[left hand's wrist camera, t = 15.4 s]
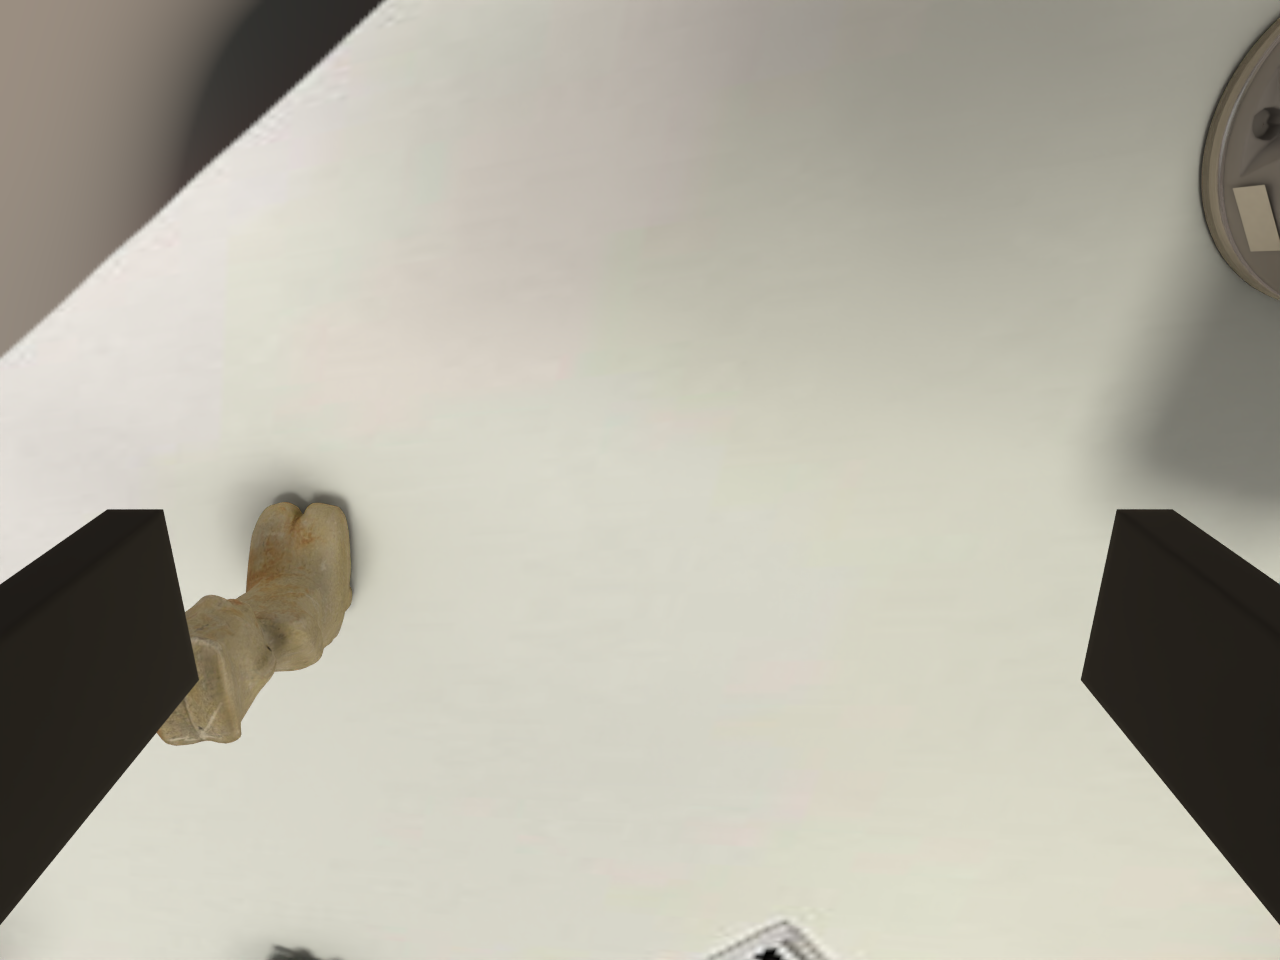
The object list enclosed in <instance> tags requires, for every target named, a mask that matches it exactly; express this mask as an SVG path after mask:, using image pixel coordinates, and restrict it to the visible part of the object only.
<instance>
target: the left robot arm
mask: <svg viewBox="0 0 1280 960" xmlns="http://www.w3.org/2000/svg"><path fill="white" fill-rule="evenodd" d="M1201 189H1202V200H1203V207H1204V212H1205V217H1206V221H1207V224H1208V227H1209V231H1210V234H1211V236H1212V238H1213V240H1214V242H1215V245H1216V247H1217V248H1218V250H1219V252H1220V253H1221V255H1222V257H1223V258H1224V260H1225V261H1226V262H1227V263H1228V265H1229V266H1230V267H1231V268H1232V270H1233V271H1234V272H1235V273H1236V274H1238V275H1239V276H1240V277H1241V278H1242V279H1243V280H1244V281H1245V282H1247V283H1248V284H1249V285H1251V286H1252V287H1254V288H1255V289H1257V290H1259V291H1260V292H1262V293H1264V294H1266V295H1268V296H1270V297H1273V298H1275V299H1278V300H1280V18H1279V19H1278V20H1277V21H1276V22H1274V23H1273V24H1272V25H1271V27H1270V28H1269V29H1268V30H1267V31H1266V32H1265V33H1264V34H1263V35H1262V36H1261V37H1260V38H1259V40H1258V41H1257V42H1256V43H1255V45H1254V46H1253V47H1252V48H1251V50H1250V51H1249V52H1248V53H1247V55H1246V56H1245V58H1244V59H1243V61H1242V62H1241V63H1240V65H1239V66H1238V68H1237V69H1236V71H1235V73H1234V74H1233V76H1232V78H1231V80H1230V81H1229V83H1228V85H1227V87H1226V89H1225V91H1224V93H1223V95H1222V97H1221V99H1220V101H1219V103H1218V106H1217V108H1216V111H1215V114H1214V116H1213V119H1212V122H1211V125H1210V129H1209V132H1208V136H1207V139H1206V144H1205V149H1204V155H1203V163H1202V180H1201ZM198 681H199V677H198V672H197V667H196V663H195V658H194V653H193V648H192V644H191V639H190V634H189V630H188V625H187V620H186V615H185V611H184V606H183V601H182V596H181V592H180V587H179V582H178V578H177V573H176V568H175V563H174V559H173V554H172V549H171V544H170V540H169V535H168V530H167V526H166V521H165V516H164V511H163V509H107V510H106V511H105V512H103V513H102V514H100V515H99V516H97V517H96V518H95V519H93V520H92V521H90V522H89V523H87V524H86V525H85V526H83V527H82V528H80V529H79V530H77V531H76V532H75V533H73V534H72V535H70V536H69V537H67V538H66V539H65V540H63V541H62V542H60V543H59V544H57V545H56V546H55V547H53V548H52V549H50V550H49V551H47V552H46V553H45V554H43V555H42V556H40V557H39V558H37V559H36V560H35V561H33V562H32V563H30V564H29V565H27V566H26V567H25V568H23V569H22V570H20V571H19V572H17V573H16V574H15V575H13V576H12V577H10V578H9V579H7V580H6V581H5V582H3V583H2V584H0V925H1V923H2V922H3V921H4V920H5V918H6V917H7V916H8V915H9V914H10V912H11V911H12V910H13V909H14V907H15V906H16V905H17V904H18V902H19V901H20V900H21V899H22V898H23V896H24V895H25V894H26V893H27V891H28V890H29V889H30V888H31V886H32V885H33V884H34V883H35V882H36V880H37V879H38V878H39V877H40V875H41V874H42V873H43V872H44V870H45V869H46V868H47V867H48V866H49V864H50V863H51V862H52V861H53V859H54V858H55V857H56V856H57V854H58V853H59V852H60V851H61V850H62V848H63V847H64V846H65V845H66V843H67V842H68V841H69V840H70V838H71V837H72V836H73V835H74V833H75V832H76V831H77V830H78V829H79V827H80V826H81V825H82V824H83V822H84V821H85V820H86V819H87V817H88V816H89V815H90V814H91V813H92V811H93V810H94V809H95V808H96V806H97V805H98V804H99V803H100V801H101V800H102V799H103V798H104V797H105V795H106V794H107V793H108V792H109V790H110V789H111V788H112V787H113V785H114V784H115V783H116V782H117V781H118V779H119V778H120V777H121V776H122V774H123V773H124V772H125V771H126V769H127V768H128V767H129V766H130V765H131V763H132V762H133V761H134V760H135V758H136V757H137V756H138V755H139V753H140V752H141V751H142V750H143V749H144V747H145V746H146V745H147V744H148V742H149V741H150V740H151V739H152V737H153V736H154V735H155V734H156V733H157V731H158V730H159V729H160V728H161V726H162V725H163V724H164V723H165V721H166V720H167V719H168V718H169V716H170V715H171V714H172V713H173V712H174V710H175V709H176V708H177V707H178V705H179V704H180V703H181V702H182V700H183V699H184V698H185V697H186V696H187V694H188V693H189V692H190V691H191V689H192V688H193V687H194V686H195V684H196V683H197V682H198ZM1081 681H1082V682H1083V683H1084V684H1085V686H1086V687H1087V688H1088V689H1089V691H1090V692H1091V693H1092V694H1093V696H1094V697H1095V698H1096V699H1097V700H1098V702H1099V703H1100V704H1101V705H1102V707H1103V708H1104V709H1105V710H1106V712H1107V713H1108V714H1109V715H1110V717H1111V718H1112V719H1113V720H1114V721H1115V723H1116V724H1117V725H1118V726H1119V728H1120V729H1121V730H1122V731H1123V733H1124V734H1125V735H1126V736H1127V737H1128V739H1129V740H1130V741H1131V742H1132V744H1133V745H1134V746H1135V747H1136V749H1137V750H1138V751H1139V752H1140V753H1141V755H1142V756H1143V757H1144V758H1145V760H1146V761H1147V762H1148V763H1149V765H1150V766H1151V767H1152V768H1153V769H1154V771H1155V772H1156V773H1157V774H1158V776H1159V777H1160V778H1161V779H1162V781H1163V782H1164V783H1165V784H1166V785H1167V787H1168V788H1169V789H1170V790H1171V792H1172V793H1173V794H1174V795H1175V797H1176V798H1177V799H1178V800H1179V801H1180V803H1181V804H1182V805H1183V806H1184V808H1185V809H1186V810H1187V811H1188V813H1189V814H1190V815H1191V816H1192V817H1193V819H1194V820H1195V821H1196V822H1197V824H1198V825H1199V826H1200V827H1201V829H1202V830H1203V831H1204V832H1205V833H1206V835H1207V836H1208V837H1209V838H1210V840H1211V841H1212V842H1213V843H1214V845H1215V846H1216V847H1217V848H1218V850H1219V851H1220V852H1221V853H1222V854H1223V856H1224V857H1225V858H1226V859H1227V861H1228V862H1229V863H1230V864H1231V866H1232V867H1233V868H1234V869H1235V870H1236V872H1237V873H1238V874H1239V875H1240V877H1241V878H1242V879H1243V880H1244V882H1245V883H1246V884H1247V885H1248V886H1249V888H1250V889H1251V890H1252V891H1253V893H1254V894H1255V895H1256V896H1257V898H1258V899H1259V900H1260V901H1261V902H1262V904H1263V905H1264V906H1265V907H1266V909H1267V910H1268V911H1269V912H1270V914H1271V915H1272V916H1273V917H1274V918H1275V920H1276V921H1277V922H1278V923H1279V925H1280V582H1279V584H1278V583H1277V582H1275V581H1274V580H1273V579H1271V578H1270V577H1268V576H1267V575H1265V574H1264V573H1263V572H1261V571H1260V570H1258V569H1257V568H1255V567H1254V566H1253V565H1251V564H1250V563H1248V562H1247V561H1245V560H1244V559H1243V558H1241V557H1240V556H1238V555H1237V554H1235V553H1234V552H1233V551H1231V550H1230V549H1228V548H1227V547H1225V546H1224V545H1223V544H1221V543H1220V542H1218V541H1217V540H1215V539H1214V538H1213V537H1211V536H1210V535H1208V534H1207V533H1205V532H1204V531H1203V530H1201V529H1200V528H1198V527H1197V526H1195V525H1194V524H1193V523H1191V522H1190V521H1188V520H1187V519H1185V518H1184V517H1183V516H1181V515H1180V514H1178V513H1177V512H1175V511H1174V510H1173V509H1117V511H1116V516H1115V521H1114V526H1113V530H1112V535H1111V540H1110V544H1109V549H1108V554H1107V559H1106V563H1105V568H1104V573H1103V578H1102V582H1101V587H1100V592H1099V596H1098V601H1097V606H1096V611H1095V615H1094V620H1093V625H1092V629H1091V634H1090V639H1089V644H1088V648H1087V653H1086V658H1085V663H1084V667H1083V672H1082V677H1081Z"/></svg>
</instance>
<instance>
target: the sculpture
mask: <svg viewBox="0 0 1280 960" xmlns="http://www.w3.org/2000/svg"><path fill="white" fill-rule="evenodd" d="M350 575H351V558H350V542H349V531H348V525H347V520H346V517H345V515H344V513H343V512H342V510H341V509H340V508H339V507H337V506H333V505H328V504H323V503H312V504H311V505H309V506H308V507H307V508H306V510H305V512H304V514H302V512H301V511H300V509H299V508H298V507H297V506H295V505H293V504H291V503H288V502H281V503H278V504H274V505H271V506H269V507H267V508H266V509H265V510H264V511H263V513H262V514H261V515H260V517H259V519H258V521H257V523H256V526H255V529H254V531H253V534H252V539H251V546H250V554H249V562H248V572H247V585H246V593H245V594H243V595H241V596H240V597H238V598H237V599H228V600H227V599H225V598H222V597H219V596H215V595H207V596H205V597H203V598H201V599H200V600H199V601H198V602H197V603H196V604H195V605H194V606H193V607H192V608H190V609H189V610H188V611H186V612H185V615H186V620H187V625H188V630H189V634H190V639H191V644H192V648H193V653H194V658H195V663H196V667H197V672H198V677H199V681H198V682H197V683H196V684H195V686H194V687H193V688H192V689H191V691H190V692H189V693H188V694H187V696H186V697H185V698H184V699H183V700H182V702H181V703H180V704H179V705H178V707H177V708H176V709H175V710H174V712H173V713H172V714H171V715H170V716H169V718H168V719H167V720H166V721H165V723H164V724H163V725H162V726H161V728H160V729H159V730H158V731H157V734H158V735H159V736H160V737H161V739H162V740H163V741H164V742H165V743H167V744H171V745H176V746H177V745H188V744H194V743H198V742H201V741H214V742H218V743H230V742H234V741H236V740H237V739H239V738H240V736H241V721H242V719H243V717H244V716H245V714H246V712H247V711H248V709H249V707H250V706H251V704H252V702H253V701H254V699H255V697H256V696H257V694H258V693H259V691H260V690H261V689H262V688H263V687H264V685H265V684H266V683H267V682H268V681H269V680H270V678H271V677H272V675H273V674H274V672H277V671H294V670H299V669H303V668H306V667H308V666H310V665H312V664H314V663H316V662H317V661H318V660H319V659H320V658H321V656H322V653H323V648H325V647H326V646H327V645H329V644H330V643H331V642H332V640H333V639H334V638H335V637H336V636H337V635H338V633H339V631H340V628H341V625H342V622H343V618H344V614H345V611H346V610H347V609H348V608H349V606H350V604H351V601H352V589H351V587H350V586H349V585H350Z"/></svg>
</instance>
